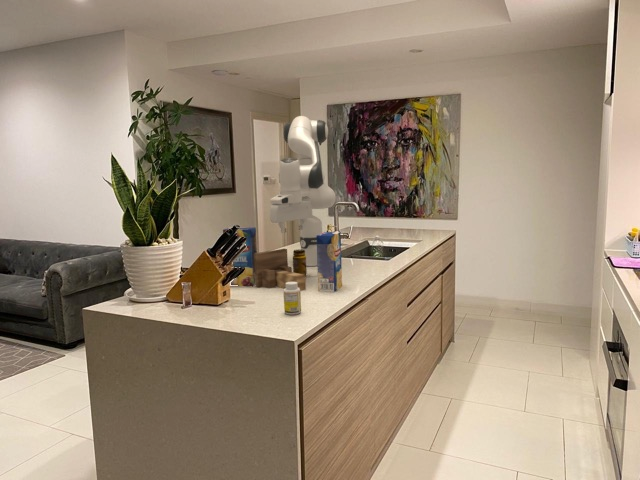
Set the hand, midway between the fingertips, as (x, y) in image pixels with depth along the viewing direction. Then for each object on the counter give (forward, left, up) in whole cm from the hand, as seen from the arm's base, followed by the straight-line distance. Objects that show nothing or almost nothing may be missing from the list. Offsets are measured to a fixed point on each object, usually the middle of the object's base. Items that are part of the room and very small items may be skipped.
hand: (292, 231), depth 204 cm
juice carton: (+15, -17, -23) cm, 32 cm away
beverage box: (-4, +18, -23) cm, 29 cm away
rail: (+6, +3, -22) cm, 23 cm away
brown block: (+6, -6, -22) cm, 24 cm away
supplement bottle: (+29, +33, -23) cm, 50 cm away
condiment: (-11, -11, -23) cm, 27 cm away
